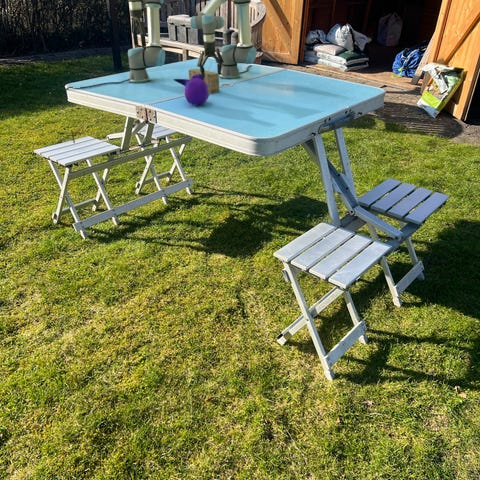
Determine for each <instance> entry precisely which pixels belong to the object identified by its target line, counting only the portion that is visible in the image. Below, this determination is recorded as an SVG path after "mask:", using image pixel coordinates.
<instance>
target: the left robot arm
mask: <svg viewBox="0 0 480 480" xmlns="http://www.w3.org/2000/svg"><path fill="white" fill-rule="evenodd" d="M127 1H128V7H129V15H130V17H131V18H130V19H131V22H130V23H131V27H130V32H131V33H132V38H133V45H134V46H138V45H139V37H138V31H139V33H140V34H139V36H140V42H141V46H138V47H134V48H130V49H128V50H127V57H128V66H129V76H128V79H125V80H121V81H113V82H112V81H110V82H103V83H102V82H101V83H96V84H93V85H87V86H86V85H85V86H79V87H80V88H73V87H74V86H68V87H66V88H65V91H69V89H74V90H78V89H81V90H82V89H87V88H93V87H98V86H102V85H103V86H104V85H110V84H111V85H112V84H122V83H125V82H129V83H133V84H141V83H148V82H150V76H149V74H148V71H147V67H163V65H165V61H166V51H165V49H164V48H163V46H162V44H161V28H160V9H161V8H162V4H164V0H127ZM142 5H144V7H145V8H146V21H147V22H146V23H147V30H146V27H145V23H144V19H143V18H141V17H143V10H142ZM146 36H147V39H146ZM147 41H148V42H147ZM73 131H74V130H73V129H71V130H70V132H71V137H72V141H73V144H76V141H75V136H74V132H73Z"/></svg>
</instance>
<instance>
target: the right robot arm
mask: <svg viewBox="0 0 480 480" xmlns="http://www.w3.org/2000/svg"><path fill="white" fill-rule="evenodd" d="M227 1H229V0H209V1H208V2H207V3H206V4H205V6H204V7H203V8H202V10H201V11H200V12H199V13H198V14H197V15H193V16H192V17H190V22H189V23H190V27H191V28H192V29H194V30H202V41H203V49H204V50H200V51H199V57H198V60H197V64H196V67H198V68H199V69H200V72H201V75H202V76H203V78H205V73H204V70H205V67H204V66H205V64H206V62H207V60H208V59H209V58H213V59H214V60H215V62H216V61H217V62H218V63H216V64H217V65H216V67H217V69H216V70H217V73H219V79H223V80H224V79H225V80H235V79H239V78H241V74H244V73H247V72H248V71H249V67H252V64H254V62H255V61H256V58H257V49H256V47H254V44H253V42H252V40H251V22H250V21H251V20H250V6H249V5H250V4H251V3H252V0H233V5H235V7H236V21H237V35H238V43H231V44H226V45H222V47H221V51H220V48H219V47H216V30H221V29H222V28H224V27H225V23H226V22H225V19H224V17H223V16H221V15H216V16H215V13H216V12H217V11H218V10H219V8H220V7H221V6H222V5H224V4H225V3H226V2H227ZM221 64H222V67H221ZM238 64H242V65H248V66H247V67H246V69H247V70H244V71H239V67H238Z"/></svg>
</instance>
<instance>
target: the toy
mask: <svg viewBox="0 0 480 480" xmlns="http://www.w3.org/2000/svg"><path fill="white" fill-rule="evenodd" d="M173 81H174V82H176V83H178V84H180V85H181V86H184V97H185V99H186V101H187V103H189V104H190V105H193V106H199V107H200V106H202V105H204V104H205V103H206V102H207V101H208V99H209V97H210V93H209V88H208V85H207V83H206V82H205V81H204V78H203V76H202V75H201V74H197V75H194V76H192V79H190V80H189V79H187V78H174V79H173Z"/></svg>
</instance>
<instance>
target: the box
mask: <svg viewBox="0 0 480 480" xmlns="http://www.w3.org/2000/svg"><path fill="white" fill-rule="evenodd" d="M204 73H205V78H204V81H205V82H206V83H207V85H208V88H209V94H211V95H212V94H216V93H220V75H219V73H218V72H215V71H210V70H206V69H204ZM197 74H201V72H200V68H191V69H188V78H189V79H188V80H190V79H192V76H194V75H197Z"/></svg>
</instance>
